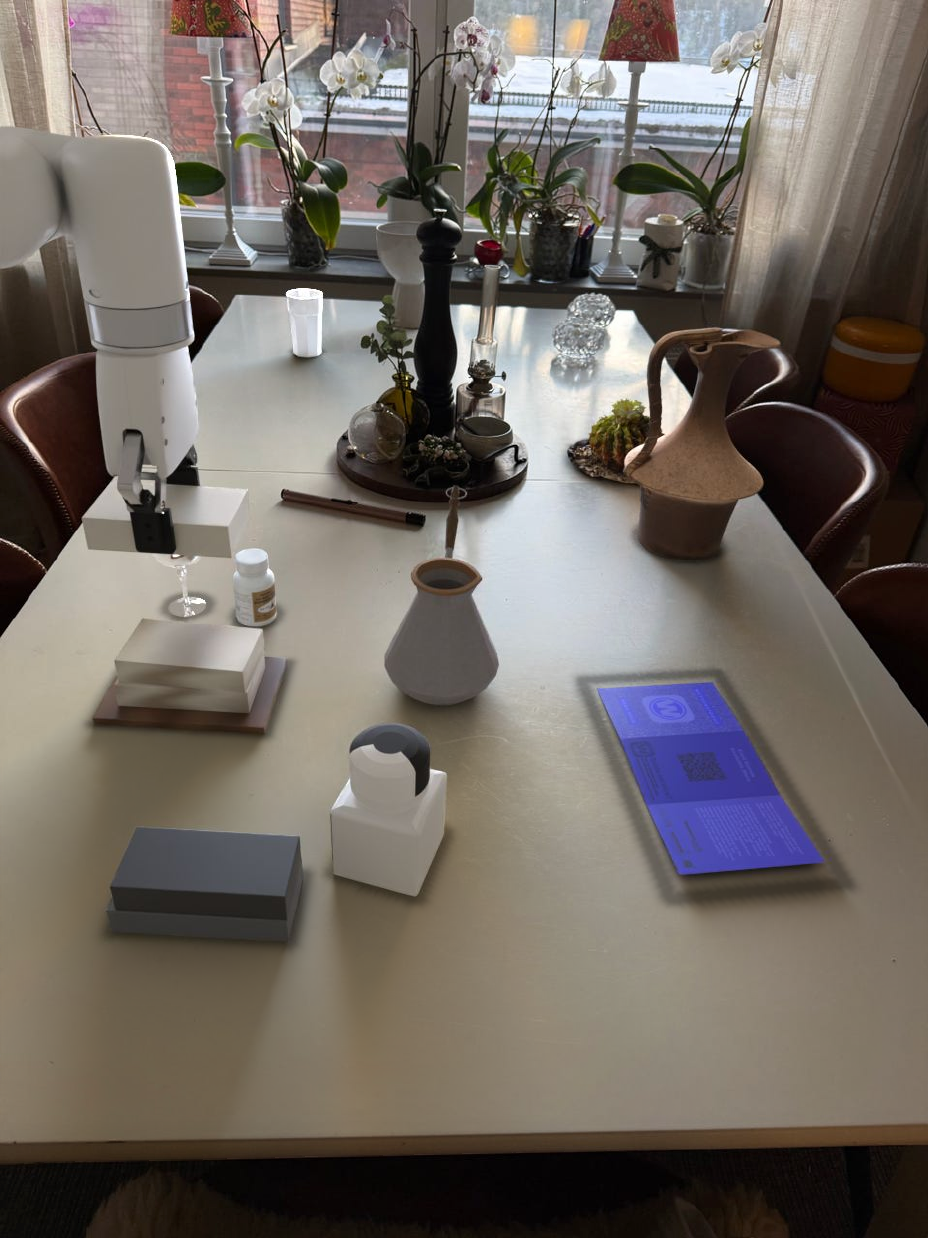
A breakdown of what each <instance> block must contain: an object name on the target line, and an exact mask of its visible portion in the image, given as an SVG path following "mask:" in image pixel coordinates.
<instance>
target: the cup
mask: <svg viewBox="0 0 928 1238" xmlns="http://www.w3.org/2000/svg"><path fill="white" fill-rule="evenodd" d="M323 294H324V293H323V292H322V291H320V290H317V289H311V288H296V289H291V290H288V291H287V292H286V293H285V295H286V304H287V311H288V314H289V325H290V333H291V340H292V341H291V343H292V352H293V354H294V355H296V356H297V357H301V358H314V357H319V356H320V355H321V354H322V323H323V310H324V307H323V305H324V304H323V299H324V298H323V297H324V296H323Z"/></svg>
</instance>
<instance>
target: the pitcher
mask: <svg viewBox="0 0 928 1238" xmlns="http://www.w3.org/2000/svg"><path fill="white" fill-rule="evenodd" d="M679 346H684V347H685V349H686V351H687V352H688V355H689V357H690V360H691V361H692V363H693V364H694V366H696V367H697V369H698V371H697V372H698V373H697V380H696V384H695V388H694V392H693V395H692V398H691V401H690V404H689V406H688V409H687V411H686V413H685V415H684V416H683V418H682V419H681V420H680V422H679V423H678V424H677V425H676V426H675V427H674V428H673V429H671V430H670V431H669V432H667V433H665V435H664V436H662V437H660V438H658V437H659V433H660V429H662V419H663V416H662V415H663V398H662V395H663V394H662V386H661V385H662V384H661V382H662V381H661V380H662V379H661V378H662V367H663V361H664V359H665V357H666V355H667V354H668V353H669V352H670V351H671V350H672V349H675V348H676V347H679ZM780 348H781V341H780V340H779V339H777V338H775V337H772V336H771V335H768V334H766V333H763V332H759V331H756V330H752V329H740V330H735V331H732V332H727V333H724V334H723V328H721V327H707V328H695V329H684V330H677V331H672V332H669V333H667V334H665V335H663V336H662V337H661V338H659V340H657V342H655V344H654V345H653V346H652V349H651V351H650V353H649V355H648V360H647V366H646V386H647V396H648V404H649V405H648V409H649V417H650V424H649V432H648V437H647V439H646V441H645V444H643V445H640V446H638V447H636V448H634V449H632V450H631V451H630V452H629V453H628V454H627V456H626V457H625V460H624V466H625V468H624V470H623V472H624V474H625V476H626V477H628V478H629V479H631V480H633V481H635V482H636V483H635V484H638V486H639V516H638V517H639V518H638V525H637V526H638V527H637V533H636V535H637V539H638V541H639V543H640V544H641V545H642V546H643V547H644V548H645V549H646V550H648V551H649V552H651V553H653V554H655V555H658V556H661V557H662V558H663V557H664V558H666V559H670V560H677V561H686V562H695V561H702V560H703V561H704V560H708V559H710V558H713V557H714V556H716V555H717V554H718V553H719V551H720V549H721V545H722V541H723V538H724V536H725V533H726V529H727V527H728V524H729V522H730V519H731V516H732V514H733V512H734V510H735V508H736V506H737V504H738V502H739V500H745V499H747V498H750V497H753V496H755V495H757V494H758V493H760V492H761V491H762V489H763V487H764V480H763V477H762V475H761V473H760V472H759V470H757V469H756V468H755V467H754V466H753V464H751V463H750V462H748V460H747V459H745V458H744V457H743V455H742V454H741V453H740V452H739V450H737V448H736V447H735V446H734V443H733V442H732V440H731V438H730V435H729V432H728V429H727V423H726V405H727V400H728V394H729V390H730V387H731V385H732V382H733V379H734V376H735V375H736V373H737V371H738V369H739V367H740V366H741V364H742V363H743V362H744V361H746V360H747V358H749V357H750V356H752V355H753V353H758V352H759V351H764V350H774V349H780Z"/></svg>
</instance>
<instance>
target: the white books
mask: <svg viewBox="0 0 928 1238" xmlns="http://www.w3.org/2000/svg"><path fill="white" fill-rule="evenodd" d="M113 661H114V666H115V671H116V675H115V677H114V678H113V680H112V682H111V684H110V685H109V688H108V689H107V691H106V693H105V694H104V696H103V697H102V700H101V701H100V703H99V705H98V707H97V708H96V711H95V712H94V713H93V716H92V723H93V725H95V726H97V725H98V726H112V727H113V726H114V727H129V728H148V729H163V730H165V729H166V730H180V731H181V730H182V731H197V732H215V733H216V732H217V733H232V734H233V733H234V734H235V733H236V734H251V735H266V732H267V729H268V726H269V723H270V721H271V716H272V714H273V712H274V711H273V710H274V708H275V704H276V701H277V698H278V695H279V691H280V689H281V686H282V682H283V679H284V676H285V673H286V669H287V667H288V658H287V657H276V656H265V639H264V629H263V628H258V627H256V628H255V627H247V626H246V627H245V626H233V625H223V624H222V625H221V624H211V623H198V622H187V621H176V620H165V619H164V620H163V619H153V618H141V620H140V621H139V623H138V624H137V626H136V627H135V629H134V630H133V632H132V633H131V635H130V636H129V637H128V639H127V640H126V642H125V643H124V645H123V646H122V648H121V650H120V651H119V653H118V654H117V655H116V657H115V658H114V660H113Z"/></svg>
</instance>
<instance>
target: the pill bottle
mask: <svg viewBox="0 0 928 1238" xmlns="http://www.w3.org/2000/svg"><path fill="white" fill-rule="evenodd" d="M234 563H235V565H234V566H235V572H234V573H233V576H232V588H233V589H232V590H233V596H234V606H235V607H234V608H235V617H236V620H237V621H238V623H240V624H241V625H244V626H246V627H252V628H255V627H256V628H258V627H262V626H263V627H264V626H266V625H269V624H271V623H273V622H274V621H275V619H276V618H277V615H278V612H277V595H276V582H275V575H274V572H273V571H272V570H271V569H270V565H269V556H268V553H267V552H266V551H264V550H263V549H260V548H248V549H243V550H241V551H239V552H237V553H236V554H235V556H234Z"/></svg>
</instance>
